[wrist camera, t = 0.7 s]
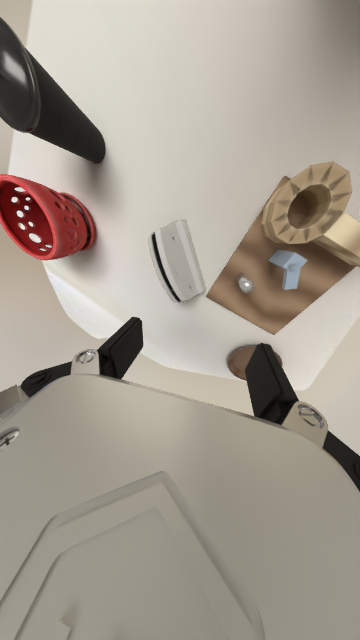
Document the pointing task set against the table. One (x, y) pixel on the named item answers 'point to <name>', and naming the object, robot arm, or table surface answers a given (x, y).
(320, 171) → the link
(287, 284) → the bracket
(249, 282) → the peg
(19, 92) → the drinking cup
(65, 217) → the plant pot
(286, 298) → the board
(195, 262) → the white rounded block
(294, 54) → the table surface
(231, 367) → the saucer
